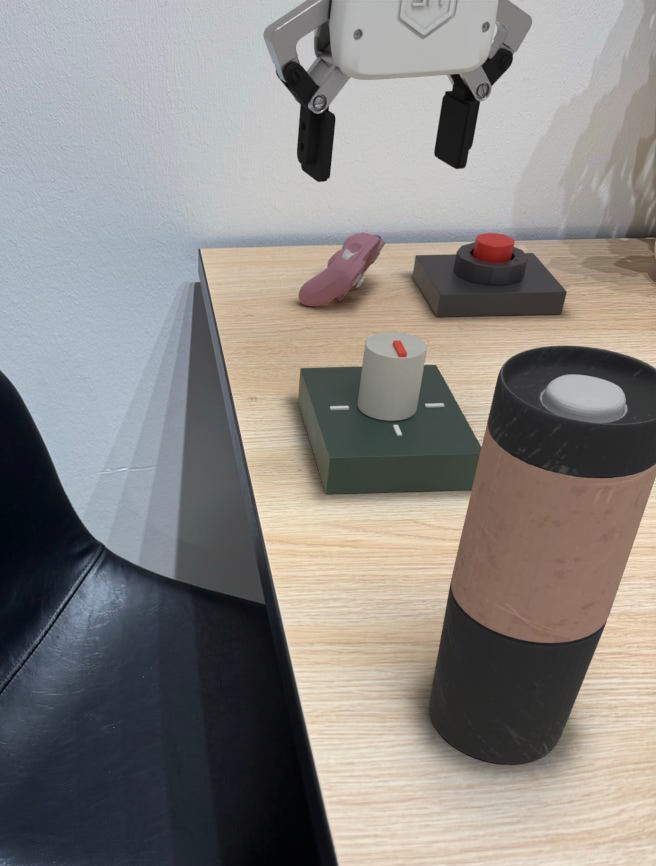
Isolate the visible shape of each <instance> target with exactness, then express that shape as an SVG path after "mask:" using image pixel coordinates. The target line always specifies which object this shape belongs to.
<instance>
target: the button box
mask: <svg viewBox="0 0 656 866" xmlns="http://www.w3.org/2000/svg"><path fill="white" fill-rule="evenodd" d="M474 245H475V241H474V242H471V243H466V244H463V245H461V246H460V247H459V248H458V250H457V251H455V254H415V256H414V263H413V270H412V278H413V280H414V282H415V284H416V285H417V287H418V288H419V290H420V292H421V294H422V295H423V297H424V298H425V300H426V301H427V303H428V305H429V307H430V308H431V310H432V312H433V313H434V315H435V317H437V318H445V317H446V318H447V317H449V318H450V317H491V316H492V317H493V316H496V317H497V316H536V315H562V313H563V309H564V305H565V301H566V297H567V293H568V290H566V289H565V288H564V286H563V285H562V284H561V283H560V282H559V281H558V279H557V278H556V277H555V276H554V275H553V274H552V273H551V272H550V270H549V269H548V268H547V267H546V265H545V264H543V262H542V261H541V260H540V259H539V257H538V256H537V255H536V254H535V253H534V252H525V251H524V250H523V249H521V248H518V247H515V246H514V248H513V252H512V257H511V260H510V261H506V262H487V261H482V260H479V259H477V258H474V257H473V250H474Z"/></svg>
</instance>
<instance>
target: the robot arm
mask: <svg viewBox="0 0 656 866" xmlns="http://www.w3.org/2000/svg"><path fill="white" fill-rule="evenodd" d="M532 26H533V18H532V16H531V15H530V14H529V13H527V12H526V11H524V10H523V9H521V8H520V7H519V6H517V5H516V4H515V3H513V2H512V1H511V0H305V1H304V2H301V3H300V4H299V5H297V6H296V7H294V8H293V9H291V10H290V11H289V12H286V13H285V14H284V15H282V16H281V17H279V18H278V19H276V20H275V21H273V22H271V23H270V24H269V25H268V26H266V27H265V29H264V31H263V40H264V43H265V46H266V49H267V52H268V53H269V56H270V59H271V61H272V63H273V64H274V65H273V66H274V67H275V74H276V76H277V78H278V80H280V82H281V83H282V84H283V85H284V87H285V88H286V89H287V90H288V92H289V93H290V94H291V95H292V96H293V99H294V101H295V102H297V103H298V104H299V105H300V107H299V117H298V118H299V120H298V132H297V145H296V158H297V162H298V163H299V164H300V168H301V170H302V172H304V173H305V174H306V175H308V176H309V177H310V178H312V179H313V180H314V181H316V182H317V183H323V182H327V181H328V180H329V179H330V177H331V171H332V161H333V152H334V142H335V130H336V120H337V119H336V114H335V113H334V112H332V111H330V105H331V104H332V103H333V101H334V100H335V98H336V97H337V96H338V95H339V93H340V92H341V91H342V89H344V87H345V85H346V84H347V83H348V82H349V80H350V79H351V78H352V79H354V80H360V81H377V80H380V81H381V80H394V79H395V80H396V79H407V78H422V77H436V76H446V77H447V78H448V81H450V83H451V85H452V89H451V90H446V91H445V92H444V95H443V96H442V100H441V106H440V112H439V118H438V125H437V130H436V137H435V145H434V150H433V153H434V154H433V155H434V157H435V158H437V160H439V161H441V162H443V163H444V164H446V165H448V166H450V167H451V168H453V169H455V170H461V169H465V168H466V167H467V163H468V158H469V152H470V150H471V149H472V147H473V143H474V138H475V133H476V127H477V123H478V117H479V110H480V105H481V102H485V101H486V100H487V99H488V98H489V97H490V95H491V93H492V87H493V86H494V85H495V83H497V82H498V80H499V79H501V77H502V76H503V75H504V74H505V73H506V72H507V71H508V69H510V67H511V66H512V64H513V61H514V54H515V53H517V52H518V50H519V48H520V47H521V44H522V43H523V42H524V40H525V38H526V37H527V35H528V34H529V31H530V30H531V28H532ZM495 27H496V28H497V29H496V33H495ZM311 32H313V50H314V55H315V57H316V58H315V59H314V61H313V63H312V64H311V65H310V66H309V67H308V69H307V70H306V69H305V68H304V67H303V65H301V63H300V60H299V55H298V52H297V44H298V42H299V41H300V40H301V39H302V38H304V37H305V36H307V35H308V34H311ZM494 34H495V35H494Z"/></svg>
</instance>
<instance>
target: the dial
mask: <svg viewBox="0 0 656 866" xmlns="http://www.w3.org/2000/svg"><path fill="white" fill-rule="evenodd" d="M427 350H428V345H427V343H426V341H425V340H424V339H422V338H420V337H419V336H417V335H415V334H411V333H406V332H402V331H382V332H377V333H373V334H372V335H370V336H368V337H367V338H366V340H365V342H364V350H363V358H362V364H361V366H362V372H361V380H360V388H359V396H358V408H359V410H360V411H361V412H362V413H364V414H365V415H367V416H369V417H371V418H374V419H378V420H385V421H398V420H404V419H407V418H410V417H411V416H413V415H414V414H415V413H416V411H417V405H418V399H419V393H420V387H421V381H422V375H423V369H424V365H425V363H426V357H427Z"/></svg>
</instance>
